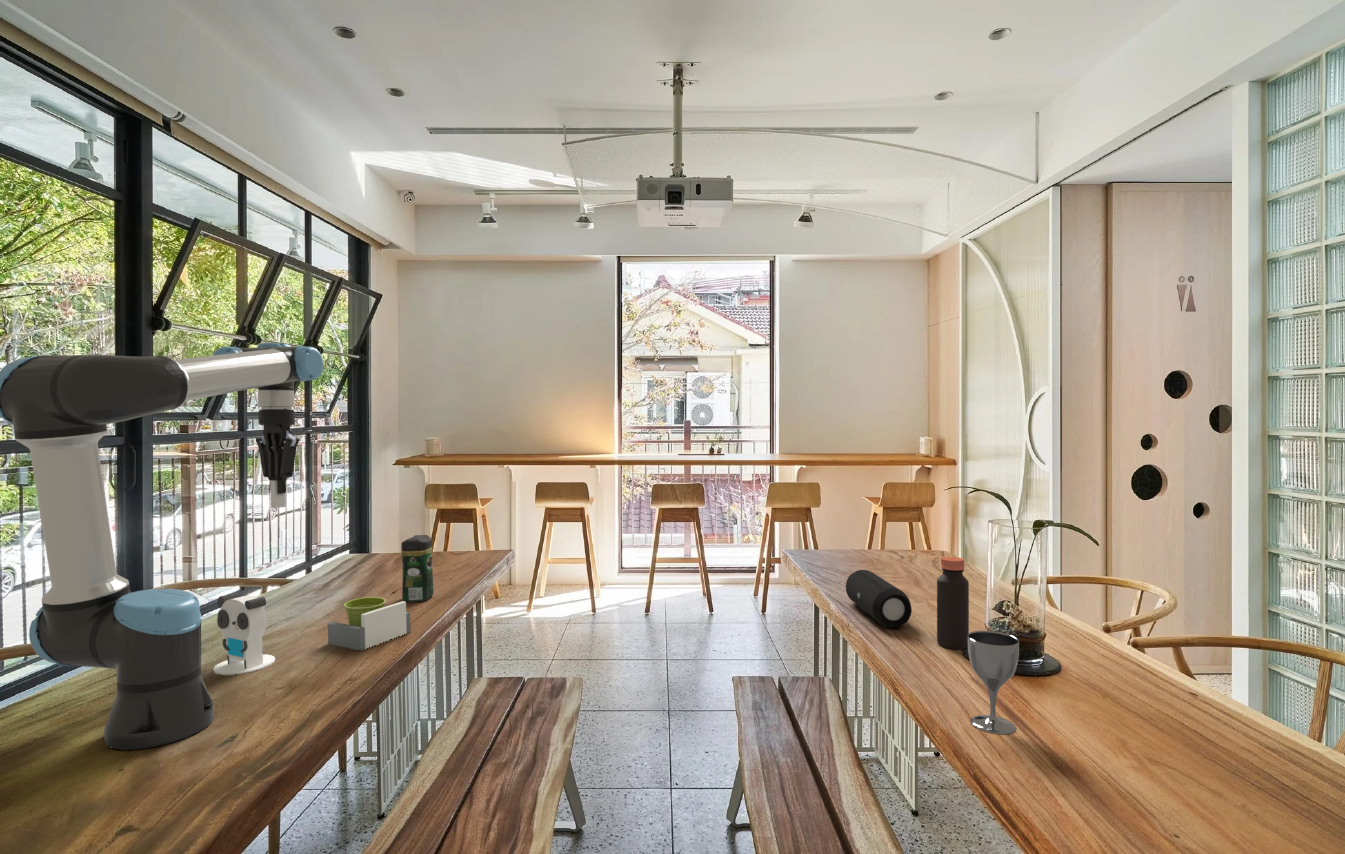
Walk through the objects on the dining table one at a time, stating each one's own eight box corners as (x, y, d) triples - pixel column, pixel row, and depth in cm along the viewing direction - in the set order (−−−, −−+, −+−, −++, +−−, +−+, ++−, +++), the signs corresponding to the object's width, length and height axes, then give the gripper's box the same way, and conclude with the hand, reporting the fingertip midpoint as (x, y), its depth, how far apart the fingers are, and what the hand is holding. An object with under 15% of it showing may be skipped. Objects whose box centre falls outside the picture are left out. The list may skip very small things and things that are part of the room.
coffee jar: (410, 594, 204) (409, 533, 204) (436, 594, 204) (435, 533, 204) (398, 603, 194) (397, 539, 194) (425, 602, 195) (424, 538, 194)
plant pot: (392, 631, 169) (392, 596, 169) (376, 643, 160) (376, 607, 160) (355, 631, 169) (354, 597, 169) (337, 644, 160) (336, 607, 159)
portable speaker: (843, 603, 192) (842, 568, 191) (877, 602, 192) (877, 567, 192) (876, 631, 166) (876, 591, 166) (915, 630, 167) (915, 590, 167)
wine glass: (975, 710, 121) (975, 627, 121) (1023, 722, 116) (1023, 636, 116) (961, 726, 115) (961, 639, 115) (1012, 740, 110) (1012, 649, 110)
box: (360, 650, 155) (360, 616, 155) (328, 644, 160) (327, 610, 160) (410, 632, 168) (409, 600, 168) (378, 626, 173) (378, 595, 173)
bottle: (969, 642, 157) (969, 557, 157) (968, 651, 151) (968, 563, 151) (937, 638, 160) (937, 554, 160) (936, 647, 154) (936, 560, 154)
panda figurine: (200, 669, 144) (198, 599, 144) (252, 652, 155) (251, 587, 154) (234, 678, 139) (232, 606, 139) (286, 660, 149) (285, 593, 149)
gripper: (309, 408, 161) (310, 506, 162) (274, 409, 167) (276, 504, 167) (278, 408, 154) (280, 510, 155) (243, 408, 160) (245, 507, 161)
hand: (278, 507), depth 161 cm, fingers closed
